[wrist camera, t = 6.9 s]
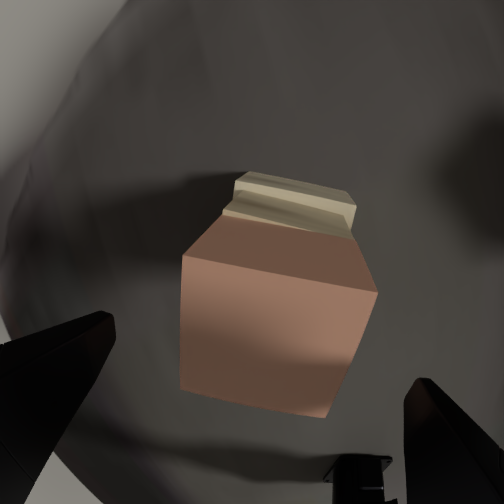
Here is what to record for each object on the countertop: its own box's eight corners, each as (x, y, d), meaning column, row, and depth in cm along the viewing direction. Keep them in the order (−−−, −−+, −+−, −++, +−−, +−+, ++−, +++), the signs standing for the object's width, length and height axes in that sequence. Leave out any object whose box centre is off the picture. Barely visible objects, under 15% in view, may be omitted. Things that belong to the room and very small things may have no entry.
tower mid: (315, 302, 17) (316, 347, 13) (225, 279, 17) (204, 319, 13) (343, 215, 15) (355, 242, 11) (243, 189, 15) (223, 208, 11)
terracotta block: (323, 347, 13) (325, 418, 9) (210, 325, 13) (180, 389, 10) (355, 240, 11) (378, 292, 7) (221, 214, 11) (182, 255, 8)
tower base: (323, 279, 20) (326, 310, 17) (235, 260, 21) (220, 288, 17) (346, 191, 18) (356, 205, 14) (249, 171, 19) (235, 180, 15)
